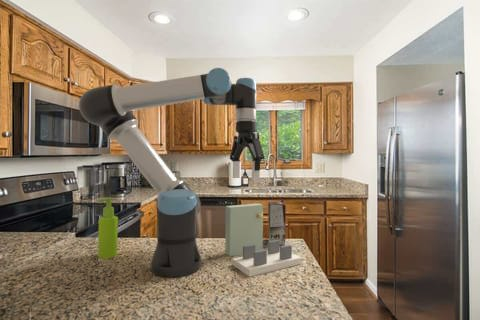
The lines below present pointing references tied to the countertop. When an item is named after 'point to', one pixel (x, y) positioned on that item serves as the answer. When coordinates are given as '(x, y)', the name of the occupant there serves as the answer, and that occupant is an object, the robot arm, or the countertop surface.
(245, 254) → the cabinet base
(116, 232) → the soap dispenser
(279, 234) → the coffee box
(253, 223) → the door
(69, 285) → the countertop surface
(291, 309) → the countertop surface
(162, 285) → the countertop surface
